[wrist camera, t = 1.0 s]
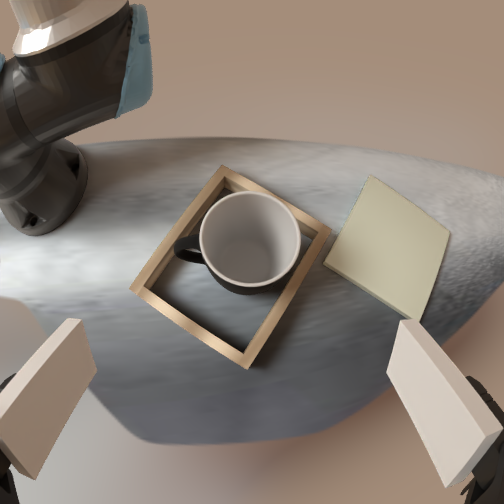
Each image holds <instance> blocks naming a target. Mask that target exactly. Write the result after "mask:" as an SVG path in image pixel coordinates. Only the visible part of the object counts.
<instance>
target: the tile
mask: <svg viewBox="0 0 504 504" xmlns="http://www.w3.org/2000/svg"><path fill="white" fill-rule="evenodd" d="M449 234H450V231H448V230H447V229H446V228H444V227H443V226H442V225H441V224H439V223H438V222H437V221H435V220H434V219H433V218H432V217H430V216H429V215H428V214H426V213H425V212H424V211H422V210H421V209H420V208H418V207H417V206H415V205H414V204H413V203H411V202H410V201H408V200H407V199H406V198H404V197H403V196H401V195H400V194H399V193H397V192H396V191H394V190H393V189H391V188H390V187H388V186H387V185H385V184H384V183H382V182H381V181H379V180H378V179H376V178H375V177H373V176H372V175H370V176H369V177H368V179H367V181H366V183H365V185H364V187H363V189H362V191H361V193H360V195H359V197H358V199H357V201H356V202H355V204H354V206H353V208H352V210H351V212H350V214H349V216H348V218H347V220H346V222H345V224H344V225H343V227H342V229H341V231H340V233H339V235H338V237H337V238H336V240H335V242H334V244H333V246H332V248H331V249H330V251H329V253H328V255H327V257H326V258H325V260H324V262H323V265H325V266H327V267H328V268H330V269H331V270H333V271H335V272H336V273H338V274H339V275H341V276H342V277H344V278H346V279H347V280H349V281H350V282H352V283H353V284H355V285H356V286H358V287H360V288H361V289H363V290H364V291H366V292H367V293H369V294H370V295H372V296H374V297H375V298H377V299H378V300H380V301H381V302H383V303H384V304H386V305H387V306H389V307H390V308H392V309H393V310H395V311H396V312H398V313H400V314H401V315H403V316H404V317H406V318H407V319H416V320H417V321H418V322H419V321H420V319H421V316H422V314H423V311H424V309H425V306H426V304H427V301H428V299H429V296H430V293H431V291H432V288H433V285H434V282H435V279H436V276H437V273H438V270H439V267H440V264H441V261H442V258H443V255H444V252H445V248H446V245H447V241H448V238H449Z"/></svg>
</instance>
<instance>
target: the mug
mask: <svg viewBox="0 0 504 504" xmlns="http://www.w3.org/2000/svg"><path fill="white" fill-rule="evenodd" d="M300 247H301V233H300V228H299V225H298V222H297V220H296V218H295V216H294V215H293V213H292V212H291V211H290V209H289V208H288V207H287V206H286V205H285V204H284V203H282V202H281V201H280V200H278V199H277V198H275V197H273V196H271V195H268V194H266V193H262V192H257V191H242V192H237V193H233V194H230V195H228V196H226V197H224V198H222V199H220V200H219V201H218V202H216V203H215V204H214V205H213V206H212V207H211V208H210V210H209V211H208V212H207V214H206V215H205V217H204V219H203V222H202V225H201V228H200V233H199V234H196V235H192V236H187V237H183V238H180V239H179V240H177V241H176V242H175V244H174V254H175V255H176V256H177V257H178V258H180V259H182V260H185V261H189V262H193V263H200V264H205V265H206V266H207V268H208V270H209V271H210V273H211V274H212V276H213V277H214V278H215V279H216V281H217V282H218V283H219V284H220V285H222V286H223V287H224V288H226V289H227V290H229V291H231V292H233V293H236V294H241V295H254V294H258V293H261V292H264V291H266V290H268V289H270V288H271V287H273V286H274V285H276V284H277V283H279V282H280V281H281V280H282V279H283V278H284V277H285V276H286V275H287V274H288V273H289V271H290V270H291V269H292V267H293V266H294V264H295V262H296V260H297V258H298V255H299V252H300ZM189 248H194V249H198V250H199V251H200V252H201V253H197V252H192V251H188V250H185V249H189Z"/></svg>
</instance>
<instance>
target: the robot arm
mask: <svg viewBox="0 0 504 504" xmlns="http://www.w3.org/2000/svg"><path fill="white" fill-rule="evenodd" d="M9 2H10V4H11V7H12V9H13V12H14V14H15V17H16V19H17V21H18V24H19V26H20V29H19V32H18V35H17V37H16V40H15V42H14V45H13V53H14V55H15V56H14V57H13V58H11V59H9V60H7V61H6V60H5V56H4V55H3V54H1V53H0V208H1V210H2V212H3V214H4V215H5V217H6V219H7V220H8V222H9V223H10V224H11V225H12V226H13V227H14V228H16V229H17V230H19V231H20V232H22V233H24V234H26V235H31V236H36V235H42V234H45V233H48V232H50V231H52V230H53V229H55V228H57V227H58V226H59V225H61V224H62V223H63V222H64V221H65V220H66V219H67V218H68V217H69V216H70V215H71V213H72V212H73V211H74V210H75V208H76V207H77V205H78V203H79V202H80V200H81V198H82V195H83V193H84V190H85V187H86V183H87V176H88V170H87V164H86V161H85V159H84V157H83V155H82V154H81V152H80V151H79V150H78V148H77V147H76V146H75V145H74V144H73V143H71V142H70V141H68V140H66V139H64V137H66V136H69V135H71V134H74V133H76V132H78V131H81V130H83V129H85V128H88V127H91V126H93V125H96V124H99V123H101V122H104V121H106V120H109V119H112V118H114V119H116V118H118V117H120V115H121V114H124V113H127V112H129V111H132V110H134V109H137V108H140V107H142V106H143V105H144V104H146V103H147V101H148V100H149V99H150V97H151V95H152V90H153V77H152V76H153V75H152V60H151V47H150V42H149V25H148V17H147V11H146V8H145V6H144V5H141V4H139V5H137V4H133V5H129V1H128V0H9ZM96 372H97V369H96V366H95V363H94V360H93V357H92V353H91V350H90V347H89V344H88V340H87V337H86V333H85V330H84V326H83V322H82V320H81V319H72V318H67V319H66V320H65V321H64V322H63V324H62V325H61V326H60V327H59V328H58V329H57V330H56V331H55V332H54V333H53V334H52V335H51V336H50V337H49V338H48V339H47V340H46V342H45V343H44V344H43V345H42V346H41V347H40V348H39V349H38V350H37V351H36V352H35V354H34V355H33V356H32V357H31V358H30V359H29V360H28V361H27V363H26V364H25V365H24V366H23V367H22V368H21V369H20V371H19V372H18V373H15V374H13V375H12V376H10V377H9V378H7V379H6V380H5V381H4V382H3V383H2V384H1V385H0V504H19V500H18V496H17V492H16V488H15V484H14V480H13V475H12V473H11V471H10V470H9V467H10V465H11V463H12V465H13V466H14V467H15V468H16V469H17V471H18V472H19V473H21V474H23V475H25V476H27V477H29V478H31V479H33V480H36V478H37V476H38V474H39V472H40V470H41V468H42V466H43V464H44V462H45V460H46V459H47V457H48V455H49V453H50V451H51V449H52V447H53V446H54V444H55V442H56V440H57V438H58V436H59V435H60V433H61V431H62V429H63V428H64V426H65V424H66V422H67V420H68V419H69V417H70V415H71V414H72V412H73V410H74V408H75V407H76V405H77V403H78V401H79V400H80V398H81V397H82V395H83V393H84V391H85V390H86V388H87V387H88V385H89V383H90V382H91V380H92V378H93V377H94V375H95V373H96ZM386 373H387V374H388V376H389V378H390V380H391V382H392V384H393V385H394V387H395V389H396V391H397V393H398V395H399V397H400V398H401V400H402V402H403V404H404V406H405V408H406V410H407V411H408V413H409V415H410V417H411V419H412V421H413V423H414V425H415V427H416V429H417V431H418V433H419V435H420V437H421V439H422V441H423V443H424V445H425V447H426V449H427V451H428V453H429V455H430V457H431V459H432V461H433V463H434V465H435V467H436V470H437V472H438V474H439V476H440V478H441V480H442V482H443V485H444V487H445V488H448V487H450V486H453V485H455V484H457V483H460V482H462V481H464V479H465V478H466V477H467V476H468V475H469V473H470V472H471V471H472V473H473V475H474V476H475V477H474V478H473V479H472V480H471V481H470V483H469V484H468V485H467V486H466V487H465V488H464V489H463V490H462V492H461V495H463V494H464V493H465V492H466V491H467V490H468V489H469V490H468V494H467V497H466V500H465V503H464V504H504V412H503V411H502V410H501V408H500V407H499V406H498V404H497V403H496V402H495V401H493V398H492V397H491V395H490V394H488V393H487V391H486V389H485V388H484V387H483V385H482V384H481V383H480V382H478V381H477V380H475V379H474V378H472V377H471V376H467V377H464V375H463V374H462V373H461V372H460V370H459V369H458V368H457V367H456V366H455V364H454V363H453V362H452V361H451V359H450V358H449V357H448V356H447V355H446V354H445V352H444V351H443V350H442V349H441V348H440V346H439V345H438V344H437V343H436V342H435V340H434V339H433V338H432V337H431V336H430V335H429V334H428V332H427V331H426V330H425V329H424V328H423V327H422V326H421V324H420V323H419V322H418V321H417V320H416V319H408V320H400V323H399V327H398V332H397V336H396V340H395V343H394V347H393V351H392V355H391V358H390V362H389V365H388V369H387V372H386Z"/></svg>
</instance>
